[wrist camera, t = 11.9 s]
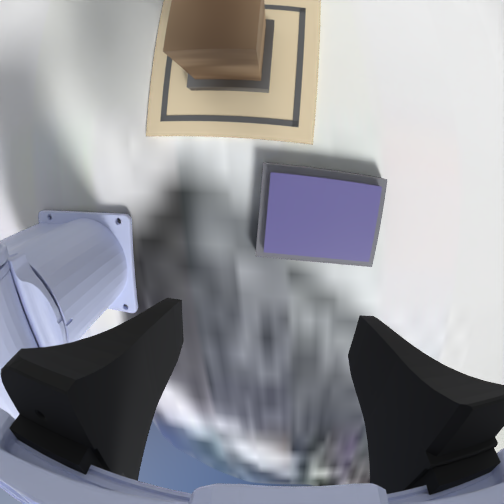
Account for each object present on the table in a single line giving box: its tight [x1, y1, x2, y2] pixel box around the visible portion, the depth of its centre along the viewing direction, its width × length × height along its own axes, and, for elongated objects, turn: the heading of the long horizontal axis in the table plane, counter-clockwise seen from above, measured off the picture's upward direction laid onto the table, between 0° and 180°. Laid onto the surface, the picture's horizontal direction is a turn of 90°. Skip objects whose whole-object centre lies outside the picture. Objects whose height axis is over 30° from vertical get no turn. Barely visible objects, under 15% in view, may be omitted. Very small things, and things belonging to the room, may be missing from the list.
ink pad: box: [255, 163, 387, 267], centre depth 18 cm, size 8×6×2 cm
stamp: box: [163, 0, 274, 93], centre depth 13 cm, size 5×5×7 cm
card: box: [146, 0, 321, 145], centre depth 16 cm, size 11×11×1 cm
